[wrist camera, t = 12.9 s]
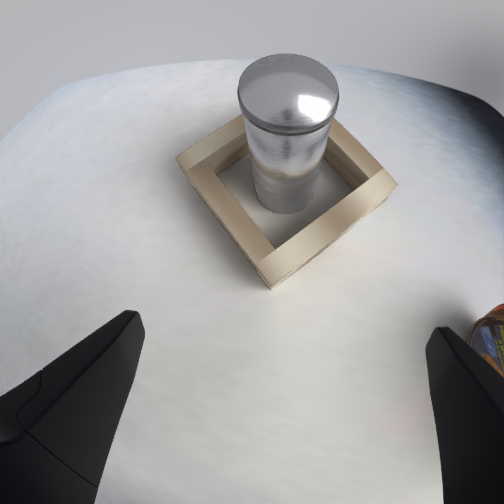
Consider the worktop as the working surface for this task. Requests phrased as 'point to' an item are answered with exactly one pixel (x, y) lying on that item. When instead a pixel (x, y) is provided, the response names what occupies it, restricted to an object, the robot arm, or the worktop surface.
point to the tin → (490, 338)
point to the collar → (311, 237)
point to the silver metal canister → (287, 126)
